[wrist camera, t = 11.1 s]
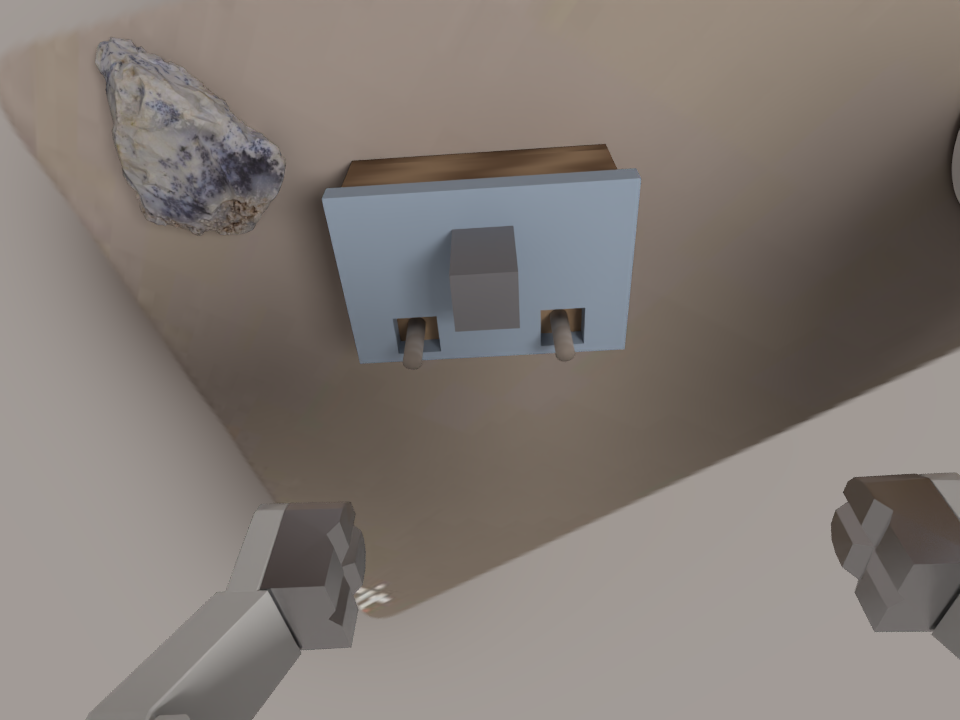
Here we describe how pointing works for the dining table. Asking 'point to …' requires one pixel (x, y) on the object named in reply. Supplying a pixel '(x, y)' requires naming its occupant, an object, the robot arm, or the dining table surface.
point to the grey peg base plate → (486, 261)
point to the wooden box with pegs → (476, 168)
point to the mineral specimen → (185, 145)
